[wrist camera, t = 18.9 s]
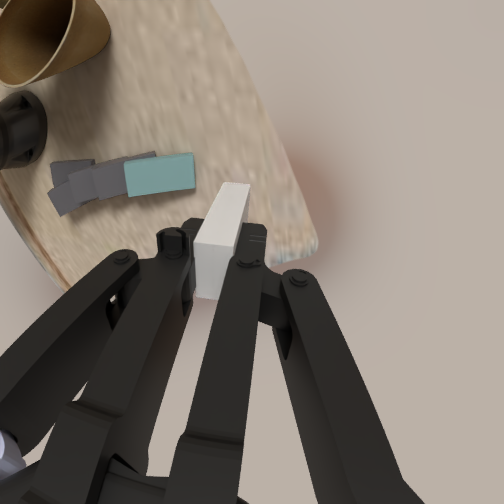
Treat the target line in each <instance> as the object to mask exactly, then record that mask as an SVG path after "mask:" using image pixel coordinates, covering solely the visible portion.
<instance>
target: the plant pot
mask: <svg viewBox="0 0 504 504" xmlns="http://www.w3.org/2000/svg"><path fill="white" fill-rule="evenodd" d="M109 36H110V25H109V22H108V20H107V18H106V16H105V14H104V12H103V11H102V9H101V8H100V6H99V5H98V4H97V3H96V1H95V0H9V1H8V2H7V4H6V5H5V7H4V8H3V10H2V12H1V14H0V83H1V84H2V85H4V86H6V87H10V88H17V87H21V86H24V85H27V84H30V83H33V82H36V81H39V80H42V79H45V78H48V77H50V76H53V75H55V74H58V73H60V72H63V71H65V70H68V69H70V68H72V67H74V66H76V65H78V64H80V63H82V62H84V61H86V60H88V59H90V58H91V57H93V56H95V55H96V54H98V53H99V52H100V51H101V50H102V49H103V48H104V47H105V45H106V44H107V42H108V39H109Z"/></svg>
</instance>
